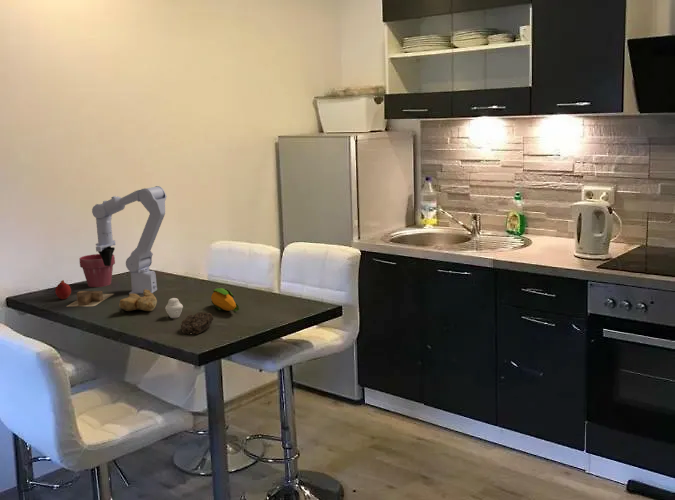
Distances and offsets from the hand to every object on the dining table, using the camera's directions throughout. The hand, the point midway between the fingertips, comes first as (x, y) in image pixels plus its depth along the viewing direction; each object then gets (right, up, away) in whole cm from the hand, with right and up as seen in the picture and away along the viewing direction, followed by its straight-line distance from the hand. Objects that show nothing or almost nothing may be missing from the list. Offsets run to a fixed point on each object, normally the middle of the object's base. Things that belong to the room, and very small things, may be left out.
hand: (107, 265), depth 301 cm
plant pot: (-7, -9, +11) cm, 16 cm away
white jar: (+37, -17, -42) cm, 58 cm away
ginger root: (+22, -16, -31) cm, 41 cm away
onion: (-13, -14, -12) cm, 23 cm away
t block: (-2, -14, -20) cm, 24 cm away
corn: (+54, -16, -35) cm, 66 cm away
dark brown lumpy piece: (+47, -20, -58) cm, 78 cm away
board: (-2, -14, -16) cm, 21 cm away
